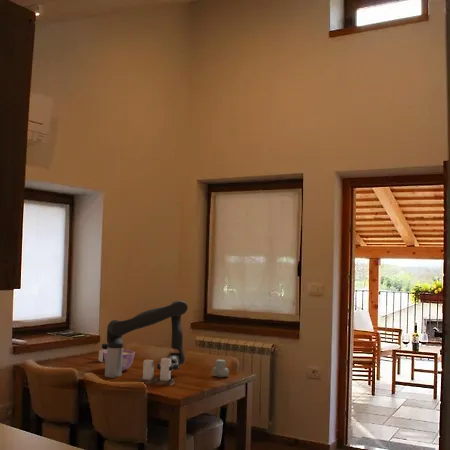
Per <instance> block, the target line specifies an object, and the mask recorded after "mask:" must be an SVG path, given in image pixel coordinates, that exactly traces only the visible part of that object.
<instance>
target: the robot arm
mask: <svg viewBox="0 0 450 450" xmlns="http://www.w3.org/2000/svg"><path fill="white" fill-rule="evenodd" d="M188 308H189V306H188V304H187V302H185V301H183V300H175V301H173V302H172V303H170V304H169V305H166V306H162V307H157V308H151V309H148V310H145V311H142V312H141V313H138V314H136V315H135V316H133V317H131V318H128V319H125V320H117V319H113V320H111V321H109V323H108V325H107V329H106V331H107V332H106V344H108V347H107V360H106V361H105V363H104V364H105V366H104V377H105V378H112V379H113V378H114V379H116V378H119V377H121V376H122V372H123V371H122V356H123V350H124V342H123V339H122V338H123V336H124V335H126V334H128V333H130V332H133V331H135V330H139V329H143V328H146V327H150V326H153V325H155V324H157V323H160V322H162V321H165V320H168V319H169V318H170V319H171V345H170V346H171V348H172V349H174V350H177V352H170V353H169V354H168V357H167V358H171V366H170V367H169V371H171V372H172V371H177V370H179V369H180V368H181V367H180V366H181V365H183V364H184V363H185V361H186V360H185V359H186V356H185V353H184V348H183V342H184V341H183V339H184V336H183V331H182V323H181V322H182V320H181V319H182V315H184V314H185V313H187V311H188ZM156 369H157V370H159V371H160V370H161V362H156Z"/></svg>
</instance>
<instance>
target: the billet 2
mask: <svg viewBox="0 0 450 450" xmlns="http://www.w3.org/2000/svg"><path fill="white" fill-rule="evenodd" d="M160 364H161V370H159V373H160V374H159V375H160V376H159V378H160V381H169V380H170V379H172V378H171V375H172V373H171V372H172V371H169V367H170V366H171V358H168V357H162V358H160Z"/></svg>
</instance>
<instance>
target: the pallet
mask: <svg viewBox="0 0 450 450" xmlns="http://www.w3.org/2000/svg"><path fill="white" fill-rule="evenodd" d="M138 382H144V383H145V385H154V386H155V385H157V386H159V385H160V386H173V385H174V384H175V383H176V381H175V379H174V378H170V380H169V381H160V377H153V381H151V380H143V376H142V377H140V379H138Z"/></svg>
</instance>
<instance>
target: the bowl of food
mask: <svg viewBox="0 0 450 450" xmlns="http://www.w3.org/2000/svg"><path fill="white" fill-rule="evenodd" d="M103 353H104V359H105V361H106V360H107V350H105V351H103ZM135 353H136V352H135V351H134V350H129V349H123V356H122V372H125V370H127V369H129V368H130V367H132V364H133V361H134V358H135V355H136V354H135Z"/></svg>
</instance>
